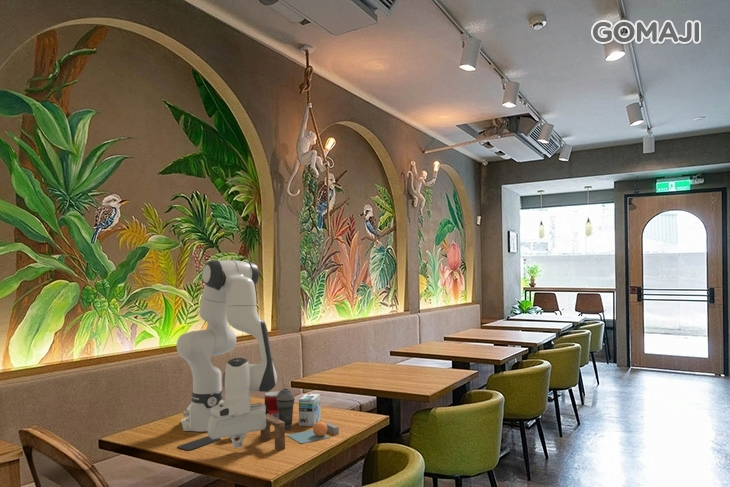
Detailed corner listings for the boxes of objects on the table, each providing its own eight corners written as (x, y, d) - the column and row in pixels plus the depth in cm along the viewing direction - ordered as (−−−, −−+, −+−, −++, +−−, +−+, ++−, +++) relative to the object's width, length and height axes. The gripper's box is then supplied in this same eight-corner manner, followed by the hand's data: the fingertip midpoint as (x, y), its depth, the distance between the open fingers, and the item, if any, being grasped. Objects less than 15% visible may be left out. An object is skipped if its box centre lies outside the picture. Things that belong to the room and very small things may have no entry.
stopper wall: (323, 429, 207) (323, 423, 207) (328, 428, 208) (328, 422, 208) (334, 434, 201) (334, 428, 201) (338, 433, 202) (338, 427, 202)
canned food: (287, 418, 224) (287, 392, 224) (274, 423, 217) (274, 396, 218) (273, 416, 228) (273, 390, 228) (260, 420, 221) (260, 394, 222)
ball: (310, 435, 200) (309, 422, 199) (322, 431, 203) (321, 417, 203) (318, 440, 196) (318, 426, 195) (330, 435, 199) (329, 422, 198)
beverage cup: (291, 432, 205) (290, 379, 206) (273, 431, 206) (273, 379, 207) (297, 426, 212) (297, 376, 213) (280, 425, 213) (279, 375, 214)
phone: (222, 438, 197) (189, 450, 184) (222, 441, 197) (189, 452, 184) (208, 435, 201) (175, 446, 188) (208, 437, 201) (175, 449, 188)
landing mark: (286, 435, 200) (286, 435, 200) (314, 429, 207) (314, 429, 207) (301, 443, 190) (301, 443, 190) (330, 437, 197) (330, 437, 197)
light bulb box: (314, 426, 212) (314, 399, 212) (298, 426, 213) (298, 399, 213) (321, 419, 222) (321, 393, 223) (305, 418, 223) (305, 393, 224)
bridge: (277, 450, 184) (277, 423, 184) (260, 440, 196) (260, 415, 196) (285, 448, 186) (284, 422, 186) (268, 438, 197) (267, 413, 198)
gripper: (261, 400, 193) (262, 438, 192) (206, 409, 181) (206, 450, 180) (269, 403, 187) (269, 443, 187) (212, 413, 176) (212, 455, 175)
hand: (237, 446), depth 183 cm, fingers closed
